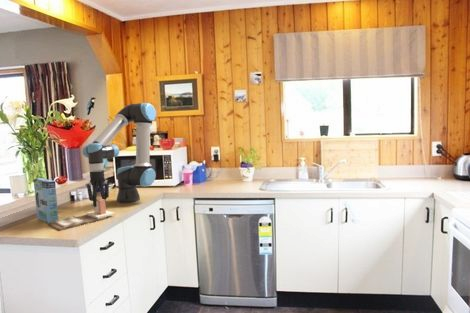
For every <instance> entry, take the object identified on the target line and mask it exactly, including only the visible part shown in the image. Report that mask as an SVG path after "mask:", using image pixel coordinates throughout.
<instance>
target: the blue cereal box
mask: <svg viewBox="0 0 470 313" xmlns="http://www.w3.org/2000/svg"><path fill="white" fill-rule="evenodd" d="M33 184H34V185H33V186H34V189H33V190H34V198H35V210H36V218H37V219H39V220H40V221H41V220H42V221H44V222H45V223H47V224H48V223H52V222H54V221H55V220H59V211H58V210H59V209H58V199H57V198H58V197H57V188H56V187H57V186H56V181H55V180H51V179H47V178H42V177H41V178H40V177H39V178H34V179H33Z"/></svg>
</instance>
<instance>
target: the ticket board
mask: <svg viewBox="0 0 470 313" xmlns="http://www.w3.org/2000/svg"><path fill="white" fill-rule="evenodd" d="M107 217H108V216H107ZM107 217H103V218H99V219H97V218H94V217H91V216H88V215H86V214H83V215H78V216H74V215H73V216H69V217H65V218H58V220H55V221H54V222H52V223H47V226H49V227H51V228H54V229H56V230H58V231H60V232H61V231H64V230H69V229H72V228H77V227H81V226H85V225H88V223H89V224H93V223H96V221H97V222H102V221H105V220H107V219H108V218H107ZM92 222H93V223H92ZM84 224H85V225H84ZM80 225H81V226H80Z"/></svg>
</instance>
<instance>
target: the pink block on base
mask: <svg viewBox="0 0 470 313" xmlns="http://www.w3.org/2000/svg"><path fill="white" fill-rule="evenodd" d="M96 201H98V209H99V213H97V212H95V207H94V206H93V210H94V211H90V212H86V213H85V215H88V216H91V217H94V218H97V219H99V218H103V217H112V216H115V212H113V211H109V210H107V207H106V205H107V204H106V205H105V199H102V197H101V198H100V197H97V199H96Z"/></svg>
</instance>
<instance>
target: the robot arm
mask: <svg viewBox="0 0 470 313" xmlns="http://www.w3.org/2000/svg"><path fill="white" fill-rule="evenodd" d="M156 118H157V110H156V109H155V106H154V105H153V104H152V103H148V102H141V103H130V104H127V105H126V106H124V107H123V108H122V109H120V110H119V111H118V112H117V113H116V114H115V116H114V119H113V120H112V121H111V122H110V123H109V124H108V125H107V126H106V127H105V129H103V131H102V132H100V134H99V135H98V136H97V137H96V138H95V139H94V141H92V142H91V143H88V144H87V145H85V146H83V147H82V155H83V157H85V158H88V168H89V178H90V180H89V182H88V183H85V186H86V189H87V194H88V199H89V201H91V202H92V206H93V208H94V207H95V212H97V213H99V209H98V201H96V199H97V198H98V197H97V195H98V189H99V192H100V196H101V199H105V205H107V199H108V198H109V196H110V195H109V193H110V192H109V190H110V189H109V188H110V180H108V179H107V180H106V178H105V171H104V169H105V167H104V159H105V160H106V159H111V158H112V159H113V158H117V157H118V156H119V154H120V148H119V147H118V145H116V144H110V143H111V141H112V140H113V139H114V138H115V137H116V136H117V135H118V134H119V133H120V131H122V129H123V128H124V127H126V126H128V125H129V124H131V123H133V125H134V126H135V127H136V130H135V132H136V134H135V136H136V137H135V138H136V139H135V140H136V142H135V144H136V146H135V148H136V149H135V164H133V165H128V166H123V167H118V168H117V170H116V178H117V188H118V189H117V190H118V191H117V194H116V202H117V203H119V204H128V203H134V202H137V201H140V200H141V197H140V196H141V195H140V194H139V191H138V189H137V187H144V188H145V187H150V186H152V185H153V183H154V182H155V181H156V175H157V174H156V171H155V170H154V168H153V165H152V164H151V163H150V156H151V155H150V154H151V152H150V150H151V149H150V148H151V147H150V146H151V145H150V144H151V143H150V141H151V140H150V139H151V138H150V137H151V136H150V135H151V133H150V132H151V126H152V125H153V121H155V119H156Z"/></svg>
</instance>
